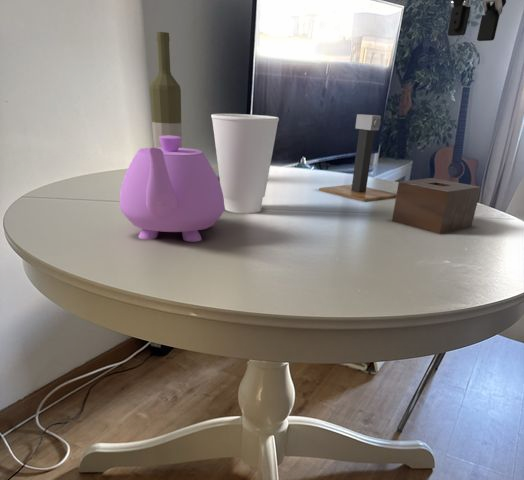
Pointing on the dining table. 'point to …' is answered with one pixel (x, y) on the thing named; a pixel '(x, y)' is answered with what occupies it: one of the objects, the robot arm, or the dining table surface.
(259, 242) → the dining table surface
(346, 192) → the wooden board
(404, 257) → the dining table surface
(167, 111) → the bottle
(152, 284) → the dining table surface
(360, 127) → the long square rod
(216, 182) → the teapot
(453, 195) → the holder
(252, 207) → the cup
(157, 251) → the dining table surface
